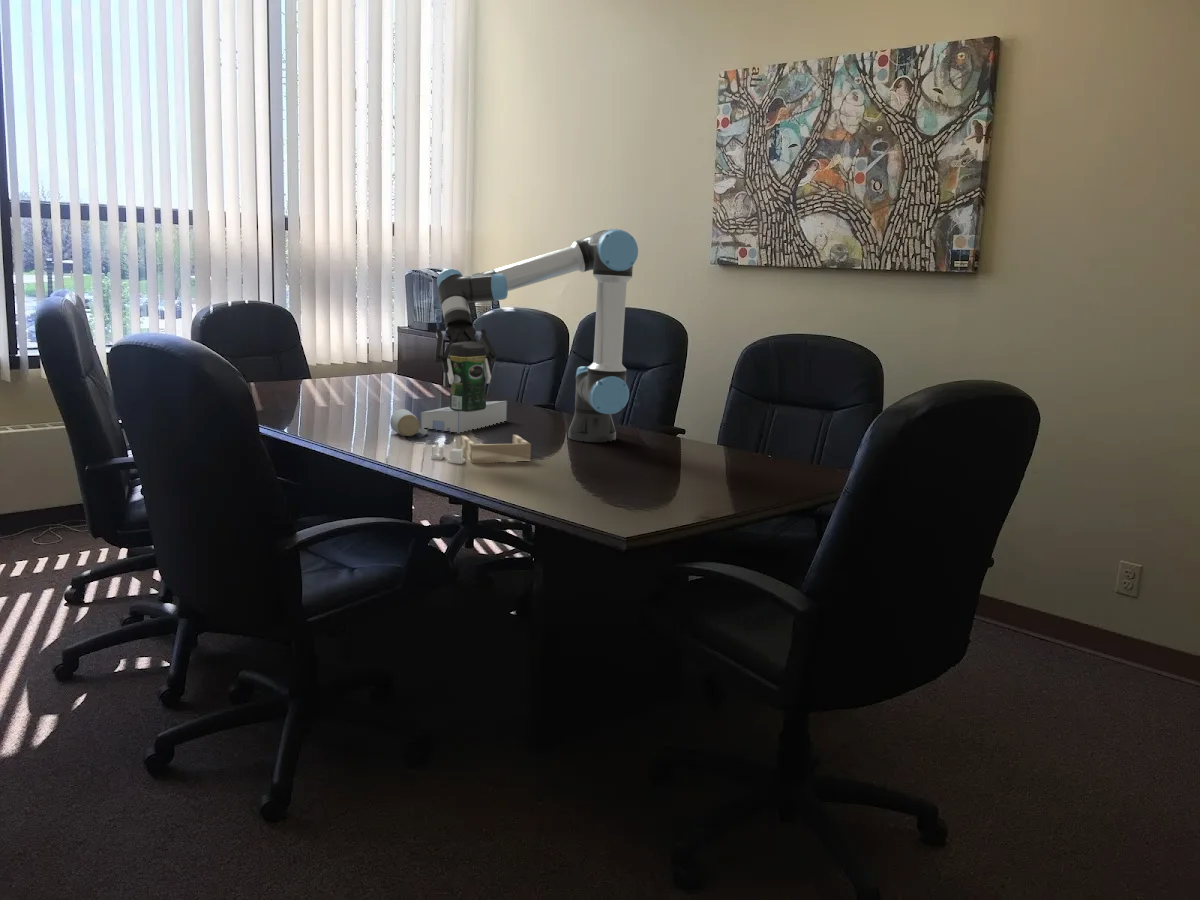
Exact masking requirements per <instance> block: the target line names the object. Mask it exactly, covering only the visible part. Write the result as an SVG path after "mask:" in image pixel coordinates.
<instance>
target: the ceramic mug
mask: <svg viewBox="0 0 1200 900" xmlns="http://www.w3.org/2000/svg"><path fill="white" fill-rule="evenodd" d="M389 420H390V427H391V429H392V430H393V431H394V432H395V433H397V434H399V435H400V436H401V437H405V436H410V437H412V436H415V435H416V434H417V433H419V434H420V435H423V436H426V435H427V433H428V429H424V428H422V427H421V425H420V421H419V419H418V417H417V416H416V415H415V414H413V413H412V412H411V411H410V410H408V409H407V408H405V409H404V408H400V409H396V411H394V412H393V413H392V414H391V416H390V419H389Z"/></svg>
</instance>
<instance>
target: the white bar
mask: <svg viewBox="0 0 1200 900" xmlns="http://www.w3.org/2000/svg"><path fill="white" fill-rule="evenodd" d="M507 412H508V400H501V401H500V400H495V401H494V400H493V401H492V400H491V401H486V408H485V409H484V410H479V411H473V412H463V411H458V412H456V411H453V410H452V409H450V406H446V407H440V408H436V409H431V410H426V411H421V412H420V427H422V428H429V429H436V430H435V431H437V430H443V431H442V432H444V431H450V432H449V433H451V432H457V433H456V434H461V433H460V432H462V433H465V432H464V431H466V432H469V431H468V430H470V431H473V430H472V429H474V430H477V428H478V429H482V428H486V427H490V426H493V424H494V425H497V424H496V423H498V424H501V423H500V422H502V423H505V422H504V421H507V422H508V419H507V418H508V417H507V416H508V415H507V414H508V413H507ZM489 425H490V426H489ZM485 426H486V427H485ZM481 427H482V428H481ZM429 429H428V430H429Z"/></svg>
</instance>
